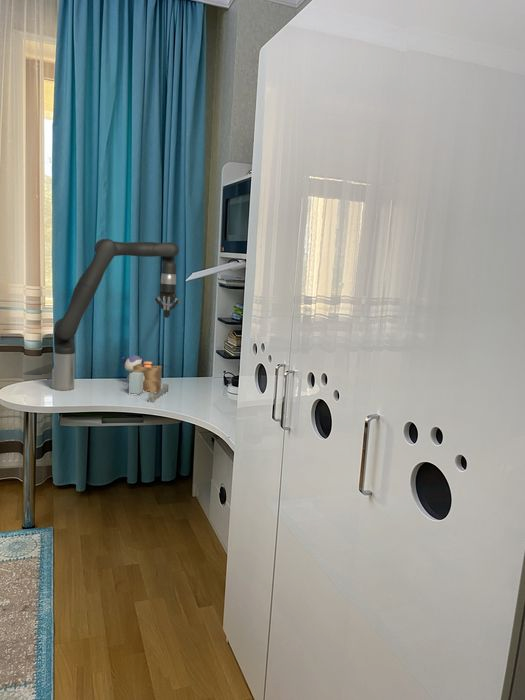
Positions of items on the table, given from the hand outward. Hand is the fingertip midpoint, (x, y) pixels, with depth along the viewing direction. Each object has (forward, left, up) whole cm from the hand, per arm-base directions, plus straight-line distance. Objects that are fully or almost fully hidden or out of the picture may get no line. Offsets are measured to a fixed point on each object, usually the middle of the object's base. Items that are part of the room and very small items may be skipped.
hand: (166, 317), depth 298 cm
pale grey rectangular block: (-6, -23, -35) cm, 42 cm away
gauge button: (-4, -14, -29) cm, 33 cm away
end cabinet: (-4, -14, -35) cm, 38 cm away
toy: (-14, -5, -35) cm, 38 cm away
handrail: (+6, -24, -35) cm, 43 cm away
